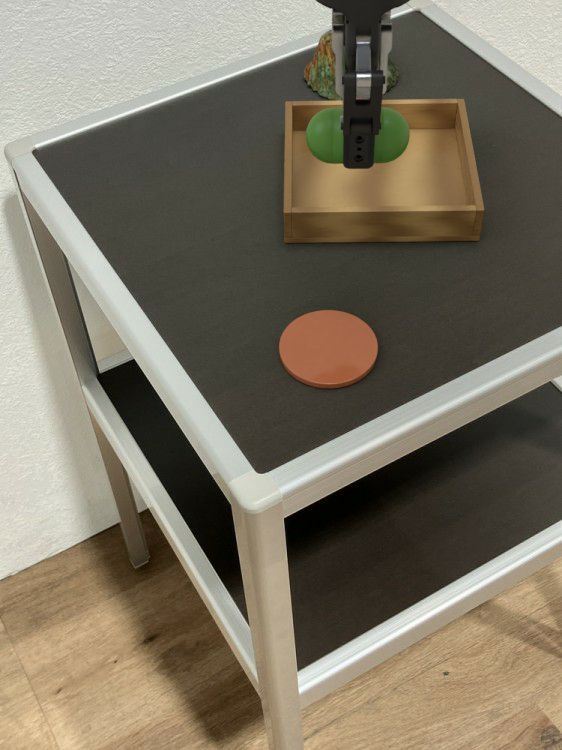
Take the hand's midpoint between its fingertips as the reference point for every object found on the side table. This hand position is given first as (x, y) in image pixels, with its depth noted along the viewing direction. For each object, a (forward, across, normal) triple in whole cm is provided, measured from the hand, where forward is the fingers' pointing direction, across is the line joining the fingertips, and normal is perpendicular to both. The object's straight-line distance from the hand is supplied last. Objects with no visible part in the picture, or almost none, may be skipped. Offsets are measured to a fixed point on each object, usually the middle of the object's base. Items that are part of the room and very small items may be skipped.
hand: (357, 145), depth 72 cm
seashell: (+15, +32, 0) cm, 35 cm away
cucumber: (+1, 0, 0) cm, 1 cm away
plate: (+15, -7, +2) cm, 17 cm away
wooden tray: (+15, +14, -2) cm, 20 cm away
